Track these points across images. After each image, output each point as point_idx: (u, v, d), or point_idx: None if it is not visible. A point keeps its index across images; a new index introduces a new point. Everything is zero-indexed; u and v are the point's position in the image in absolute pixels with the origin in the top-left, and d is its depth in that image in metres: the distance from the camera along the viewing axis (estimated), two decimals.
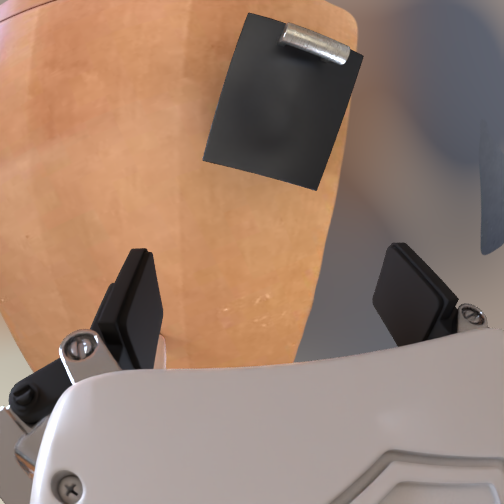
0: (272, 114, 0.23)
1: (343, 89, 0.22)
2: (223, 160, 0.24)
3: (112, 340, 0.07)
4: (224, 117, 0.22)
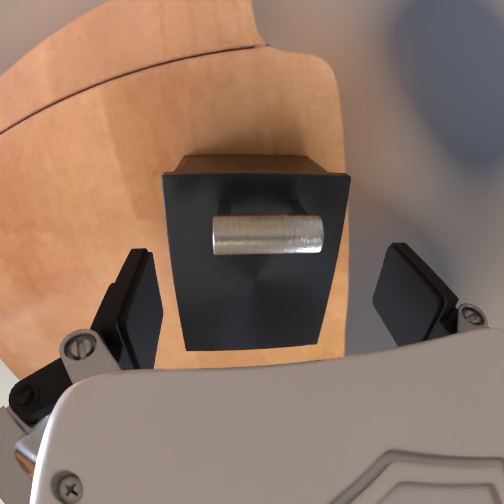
0: (244, 298, 0.20)
1: (328, 238, 0.18)
2: (207, 347, 0.22)
3: (112, 340, 0.07)
4: (190, 313, 0.20)
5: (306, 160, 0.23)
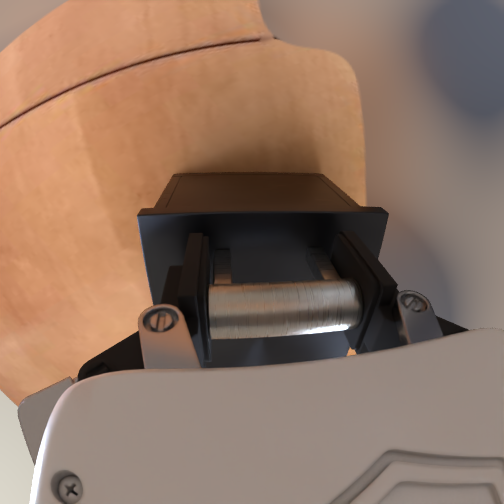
0: (248, 356, 0.16)
1: None
2: None
3: (188, 313, 0.08)
4: None
5: (323, 180, 0.19)
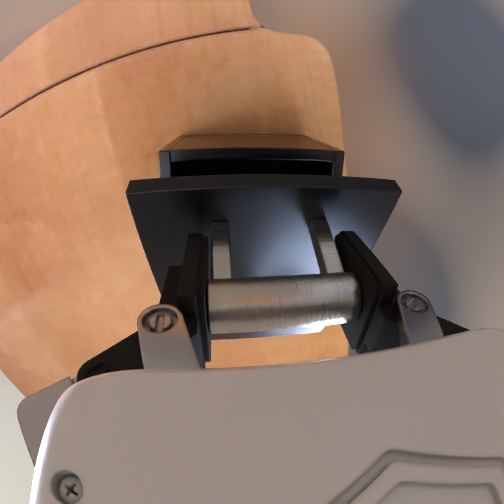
0: None
1: None
2: None
3: (187, 314, 0.08)
4: None
5: (304, 137, 0.22)
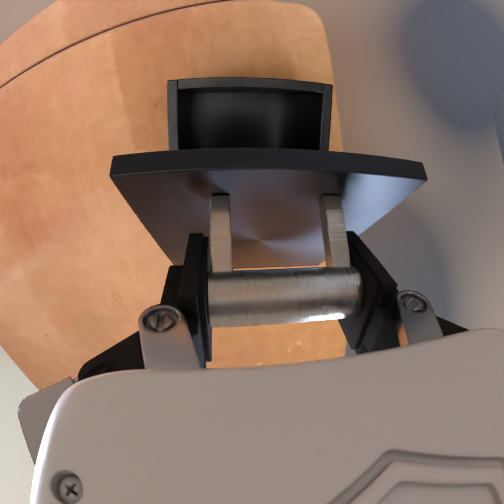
0: (243, 248, 0.17)
1: (364, 219, 0.13)
2: None
3: (188, 313, 0.08)
4: (180, 256, 0.18)
5: None
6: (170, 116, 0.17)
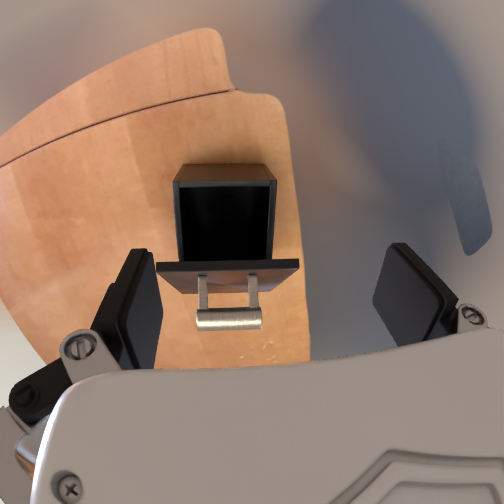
0: (219, 287, 0.30)
1: (278, 278, 0.26)
2: (195, 293, 0.34)
3: (112, 340, 0.07)
4: (184, 289, 0.31)
5: (262, 166, 0.35)
6: (175, 204, 0.30)
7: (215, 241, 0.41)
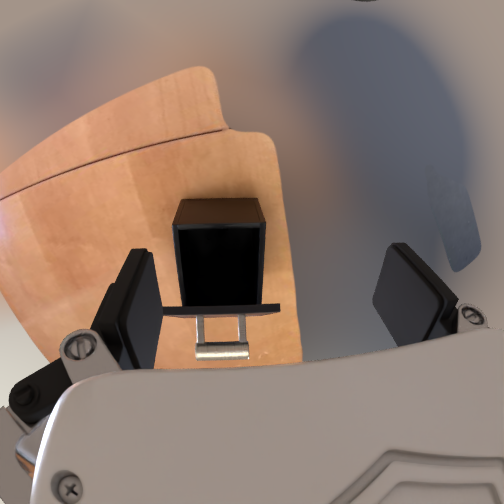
0: None
1: None
2: None
3: (112, 340, 0.07)
4: (185, 317, 0.35)
5: (254, 202, 0.39)
6: (175, 243, 0.34)
7: (213, 267, 0.45)
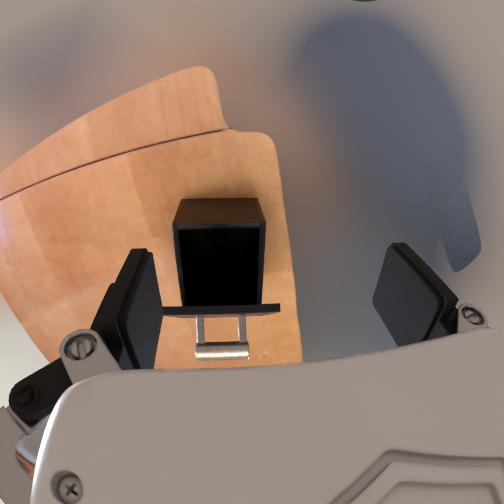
0: None
1: None
2: None
3: (112, 340, 0.07)
4: (185, 317, 0.35)
5: (254, 202, 0.39)
6: (175, 243, 0.34)
7: (213, 267, 0.45)
